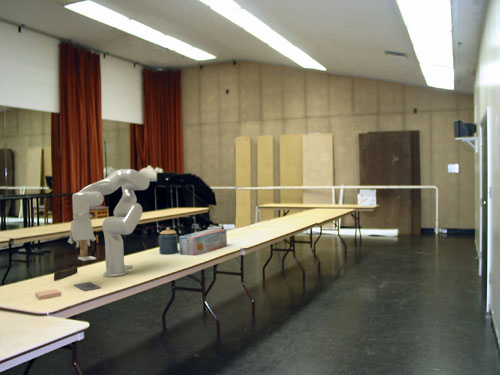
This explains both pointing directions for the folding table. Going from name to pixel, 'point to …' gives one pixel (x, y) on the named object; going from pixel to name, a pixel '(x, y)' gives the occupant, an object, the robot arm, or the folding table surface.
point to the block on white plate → (84, 251)
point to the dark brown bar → (64, 273)
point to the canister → (168, 242)
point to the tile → (48, 294)
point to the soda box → (202, 241)
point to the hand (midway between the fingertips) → (82, 254)
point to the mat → (87, 286)
